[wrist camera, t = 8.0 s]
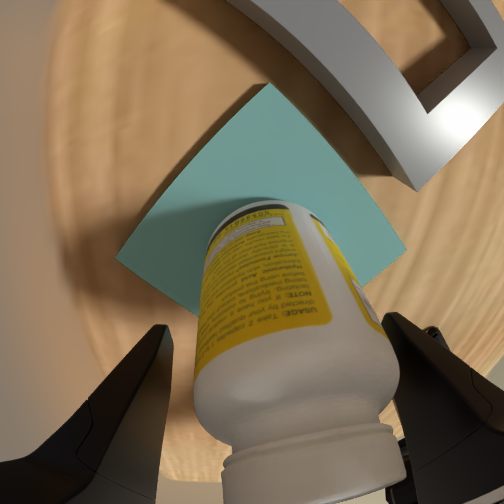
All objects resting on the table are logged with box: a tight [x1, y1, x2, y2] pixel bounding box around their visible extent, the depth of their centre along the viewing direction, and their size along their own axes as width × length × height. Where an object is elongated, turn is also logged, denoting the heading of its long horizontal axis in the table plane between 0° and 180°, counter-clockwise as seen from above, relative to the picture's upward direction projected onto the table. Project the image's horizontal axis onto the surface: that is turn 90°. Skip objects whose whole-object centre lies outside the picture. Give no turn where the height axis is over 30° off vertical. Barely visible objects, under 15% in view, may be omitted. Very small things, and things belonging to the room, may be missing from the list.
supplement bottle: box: [193, 200, 406, 504], centre depth 8 cm, size 5×5×10 cm
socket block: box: [226, 0, 504, 192], centre depth 6 cm, size 11×11×2 cm
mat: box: [115, 83, 407, 317], centre depth 12 cm, size 10×10×1 cm
